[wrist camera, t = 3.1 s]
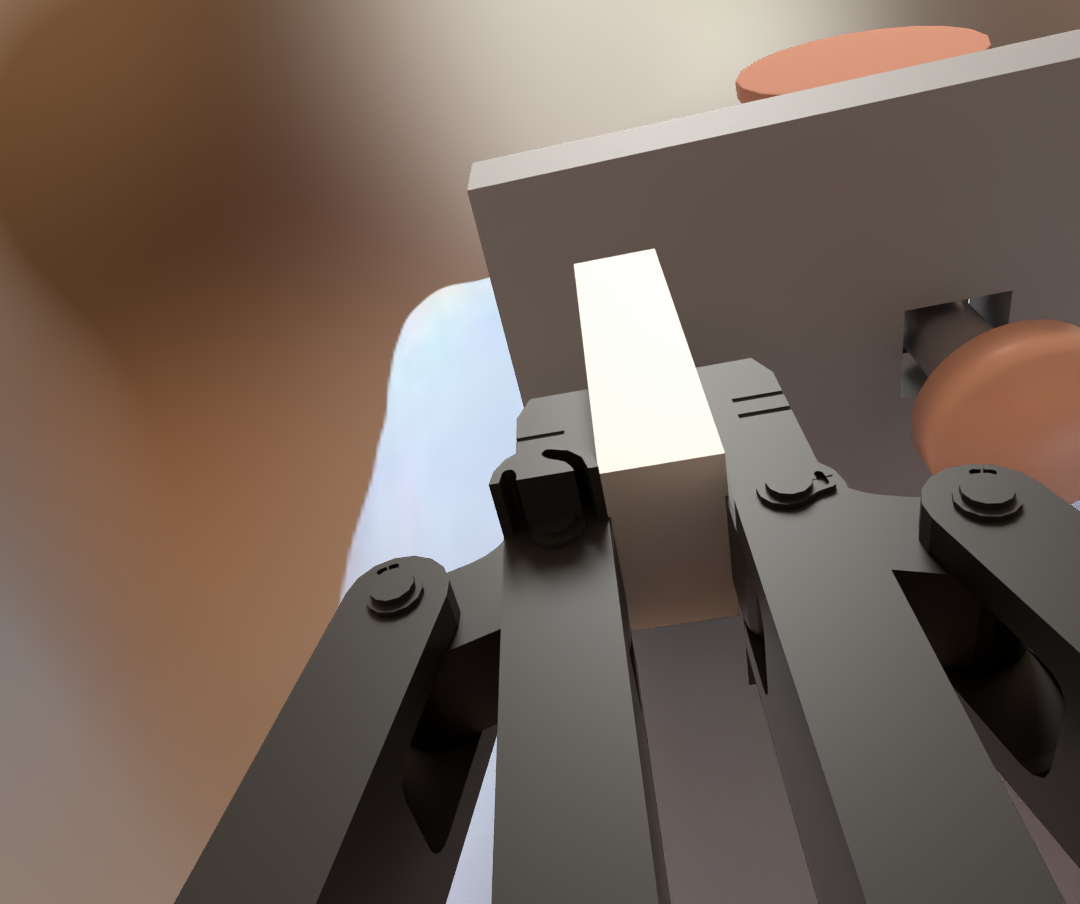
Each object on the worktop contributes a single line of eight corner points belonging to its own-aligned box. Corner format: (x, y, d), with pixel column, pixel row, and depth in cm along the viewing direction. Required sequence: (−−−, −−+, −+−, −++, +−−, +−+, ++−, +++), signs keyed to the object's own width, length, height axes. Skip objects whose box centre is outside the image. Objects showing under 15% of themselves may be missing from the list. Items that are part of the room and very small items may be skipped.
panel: (577, 578, 40) (472, 163, 28) (1010, 507, 38) (1081, 28, 26) (580, 624, 37) (467, 190, 26) (1044, 552, 35) (1139, 44, 24)
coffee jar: (898, 332, 51) (912, 14, 41) (1001, 420, 43) (1050, 44, 32) (732, 375, 51) (705, 68, 41) (800, 472, 43) (787, 111, 33)
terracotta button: (846, 396, 33) (846, 258, 30) (1000, 368, 33) (1018, 224, 29) (929, 533, 27) (942, 373, 23) (1127, 501, 26) (1170, 332, 22)
